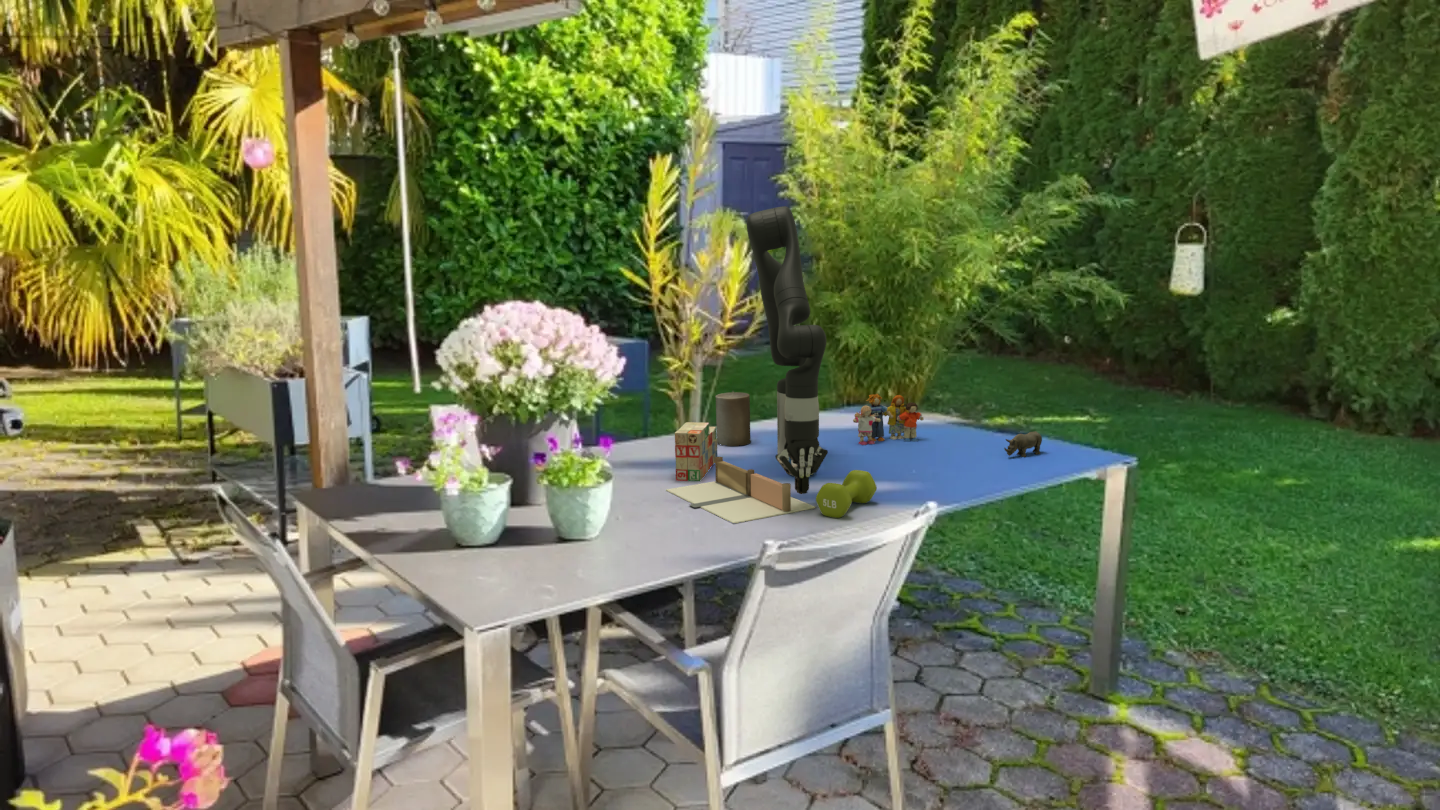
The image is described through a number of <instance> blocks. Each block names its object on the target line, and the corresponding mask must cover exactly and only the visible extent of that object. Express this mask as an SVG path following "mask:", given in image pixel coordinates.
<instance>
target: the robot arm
mask: <svg viewBox="0 0 1440 810" xmlns="http://www.w3.org/2000/svg"><path fill="white" fill-rule="evenodd" d="M746 231H747V236H748V237H747V238H748V239H749V245H750V247H751V248H750V249H751V251H752V255H753V258H754V263H755V265H756V270H757V276H758V282H759V289H760V295H761V300H762V305H763V309H764V312H765V316H766V321H767V329H768V337H769V344H770V345H769V346H770V354H771V359H772V361H773V362H774V364H775V365H776V366H777V365H778V366H782V367H794V368H791V369H789V370H788V371H787V372H786V374H785V377H784V378H781V379H780V380H778V381H777V383H776V408H777V409H776V414H777V416H776V417H777V418H776V420H777V421H776V426H777V428H776V429H777V431H776V432H777V441H776V442H777V445H776V446H777V447H776V448H777V454H776V455H775V460H776V461H777V462H778V463H779V465H780V466H781V468H782V469H783V470H784V472H786V474H787V475H790V476H792V477H794V490H795V491H796V493H797V494H799V495H804V494H808V491H809V490H810V477H811V476H810V475H811V474H812V473H813V474H816V473H817V472H818V470H819V468H820V467H821V466H822V464H823V462H824V460H825V458H826V456H827V455H828V452H829V451H828V449H825V448H822V447H821V446H820V442H819V441H820V440H818V439H819V435H820V404H819V387H818V386H819V374H820V371H821V365H822V361H823V357H824V354H825V352H826V346H827V335H826V332H825V331H824V329H823V328H822V326H820V325H818V324H803V325H802V323H803V322H805V321H807V320H808V319H809V318H810V315H811V307H810V303H809V300H808V295H807V291H806V288H805V283H804V278H803V269H802V268H803V267H802V258H801V250H800V244H799V236H798V230H797V226H796V221H795V218H794V215H793V212H792V210H791V209H790V208H789V206H777V207H772V208H767V209H763V210H760V211H755V212H753V213H750V214H749V215H748V216H747V219H746ZM781 248H785V255H784V259H783V261H782V263H781V262H779V261H777V260H776V259H775V258H774V257H773V256H772V255H771V254H770V252H769V251H772V250H777V249H781ZM800 324H801V325H800ZM789 457H790V459H791V464H792V465H791V464H790V462H789ZM813 474H812V475H813Z"/></svg>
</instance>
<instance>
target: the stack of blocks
mask: <svg viewBox="0 0 1440 810" xmlns="http://www.w3.org/2000/svg"><path fill="white" fill-rule="evenodd" d="M674 454H675V455H674V456H675V481H676V482H701V481H702V480H703V479H704V478H705V477H706V476H705V474H706V473H707V472H708V473H709V471H710V470H711V469H710V467H711V466H712V465H713V464H714V463H715V457H718V443H717V426H710V422H696V421H694V422H689V421H687V422H684V424H683V425H682V426H681V427H679V429H677V430H676V431H675V432H674ZM714 465H715V464H714ZM714 465H713V466H714ZM713 466H712V467H713ZM712 467H711V468H712ZM709 469H710V470H709ZM708 470H709V471H708ZM708 473H707V474H708ZM707 474H706V475H707ZM704 476H705V477H704ZM703 477H704V478H703ZM702 478H703V479H702ZM701 479H702V480H701ZM700 480H701V481H700Z"/></svg>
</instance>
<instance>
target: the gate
mask: <svg viewBox="0 0 1440 810" xmlns="http://www.w3.org/2000/svg"><path fill="white" fill-rule="evenodd" d="M754 473H755V472H754ZM791 486H792V485H791V483H787V482H784V483H782V482H779V481H776V479H772V478H769V477H766V476H764V475H763V474H762V475H761V474H759V473H755V474H751V497H754V498H756V499H758V500H761V501H763V502H765V503H767V504H770V505H772V506H774V507H777V508H779V509H781V510H783V511H791V497H792V496H791V495H792V491H791V490H792V489H791Z"/></svg>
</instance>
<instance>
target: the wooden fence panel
mask: <svg viewBox="0 0 1440 810" xmlns="http://www.w3.org/2000/svg"><path fill="white" fill-rule="evenodd" d="M714 466H715V467H714V468H715V481H716V482H718V483H720V484H723V485H725V486H727V487H729V488H732V489H734V490H736V491H739V492H741V493H743V494H745V495H747V494H748V496H751V474H755V469H753V468H749V469H745V468H742V467H740V466H737V465H734V464H732V463H730V462H727V461H724V457H723V456H717V457H715V464H714Z"/></svg>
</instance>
